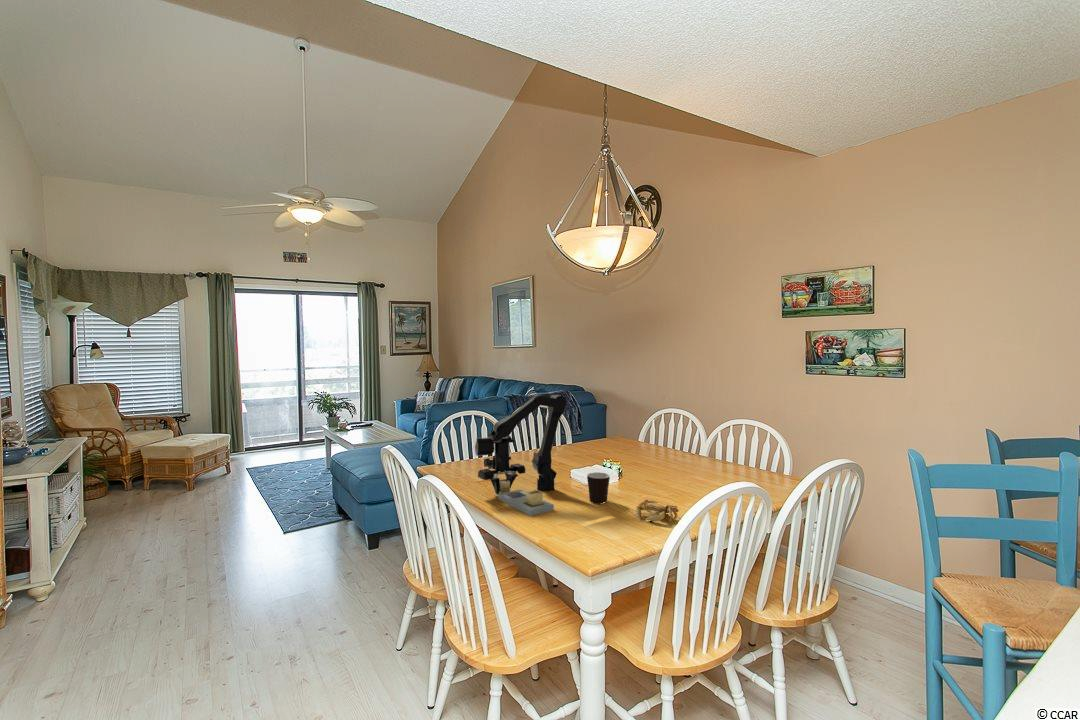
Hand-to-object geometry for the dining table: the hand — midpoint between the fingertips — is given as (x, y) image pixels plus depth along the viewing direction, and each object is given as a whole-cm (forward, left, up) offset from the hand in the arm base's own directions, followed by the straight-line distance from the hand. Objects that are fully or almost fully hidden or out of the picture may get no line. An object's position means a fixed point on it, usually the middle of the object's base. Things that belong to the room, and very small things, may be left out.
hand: (502, 493), depth 199 cm
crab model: (-53, +27, -2) cm, 60 cm away
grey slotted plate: (-9, +14, -1) cm, 17 cm away
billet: (0, 0, -1) cm, 1 cm away
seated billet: (-12, +19, 0) cm, 23 cm away
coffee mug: (-36, +10, -1) cm, 37 cm away
